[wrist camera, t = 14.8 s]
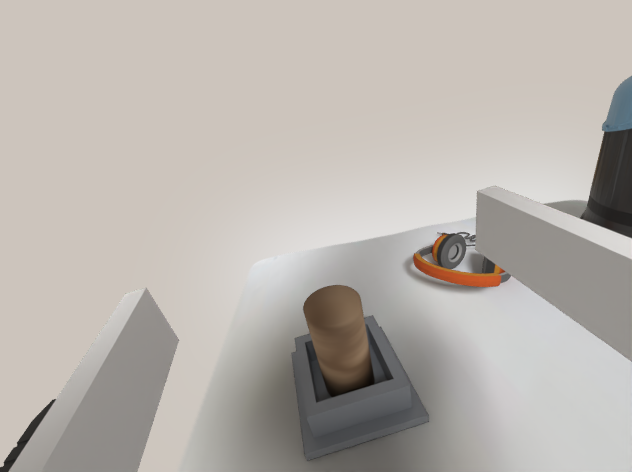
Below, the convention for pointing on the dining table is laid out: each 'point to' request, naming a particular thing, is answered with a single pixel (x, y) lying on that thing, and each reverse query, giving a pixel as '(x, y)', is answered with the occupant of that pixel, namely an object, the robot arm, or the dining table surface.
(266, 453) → the dining table surface
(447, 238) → the headphones
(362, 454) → the dining table surface
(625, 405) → the dining table surface
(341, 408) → the grey square tray
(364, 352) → the walnut cylinder
